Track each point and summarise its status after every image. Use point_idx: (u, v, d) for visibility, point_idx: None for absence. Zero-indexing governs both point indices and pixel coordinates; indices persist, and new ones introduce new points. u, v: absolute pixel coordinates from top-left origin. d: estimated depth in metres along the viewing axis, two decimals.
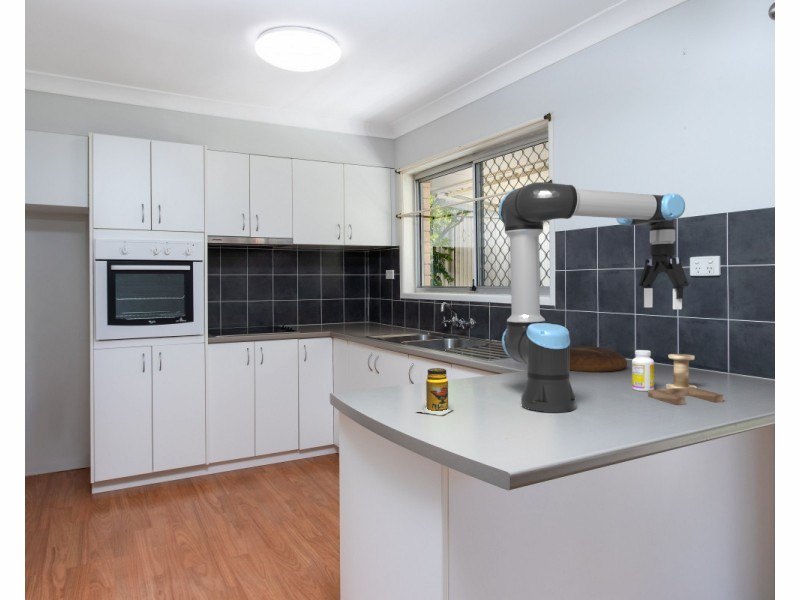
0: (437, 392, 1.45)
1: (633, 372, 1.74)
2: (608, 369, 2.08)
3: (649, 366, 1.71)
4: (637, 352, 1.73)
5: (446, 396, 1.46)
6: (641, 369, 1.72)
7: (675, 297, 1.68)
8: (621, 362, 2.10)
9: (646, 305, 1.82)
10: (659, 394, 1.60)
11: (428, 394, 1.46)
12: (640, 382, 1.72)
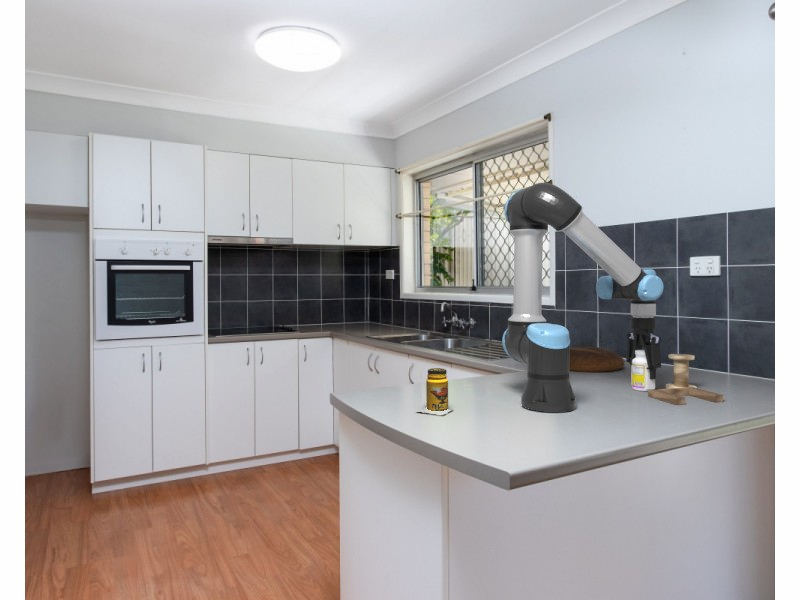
0: (437, 392, 1.45)
1: (633, 372, 1.74)
2: (606, 369, 2.08)
3: None
4: (637, 352, 1.73)
5: (446, 396, 1.46)
6: (641, 369, 1.72)
7: (648, 377, 1.70)
8: (619, 362, 2.10)
9: None
10: (659, 394, 1.60)
11: (428, 394, 1.46)
12: (640, 382, 1.72)
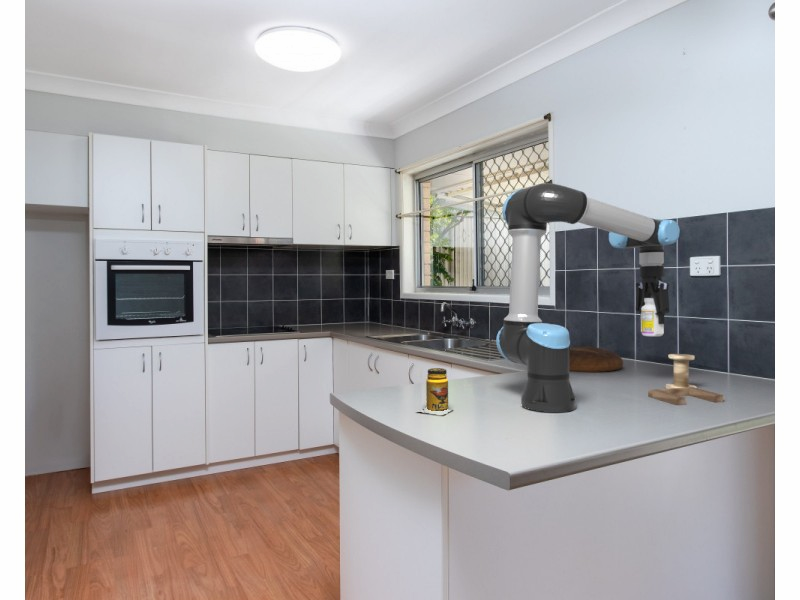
0: (437, 392, 1.45)
1: (642, 319, 1.81)
2: (605, 369, 2.07)
3: None
4: (646, 299, 1.81)
5: (446, 396, 1.46)
6: (650, 315, 1.79)
7: (657, 322, 1.78)
8: (618, 362, 2.10)
9: None
10: (659, 394, 1.60)
11: (428, 394, 1.46)
12: (650, 327, 1.79)
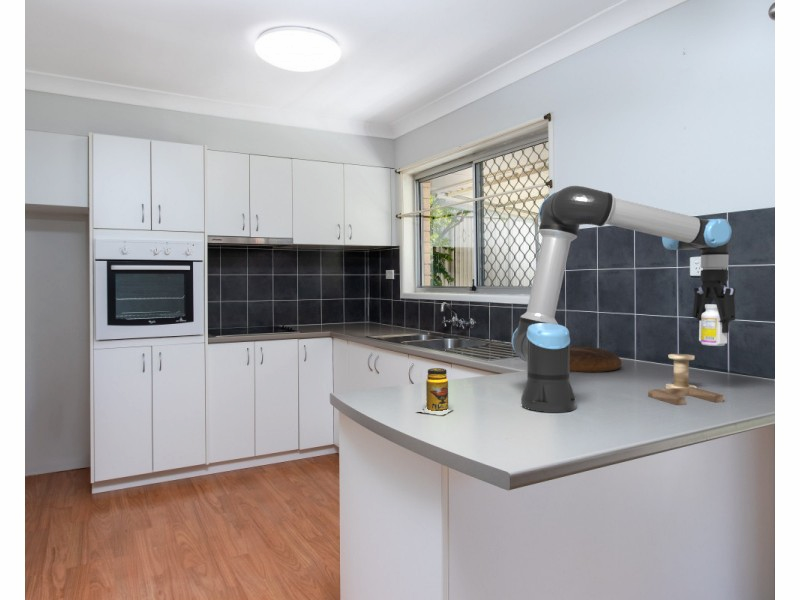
0: (437, 392, 1.45)
1: (703, 326, 1.67)
2: (603, 369, 2.07)
3: None
4: (708, 305, 1.67)
5: (446, 396, 1.46)
6: (712, 323, 1.65)
7: (721, 331, 1.64)
8: (616, 362, 2.10)
9: None
10: (659, 394, 1.60)
11: (428, 394, 1.46)
12: (712, 336, 1.65)
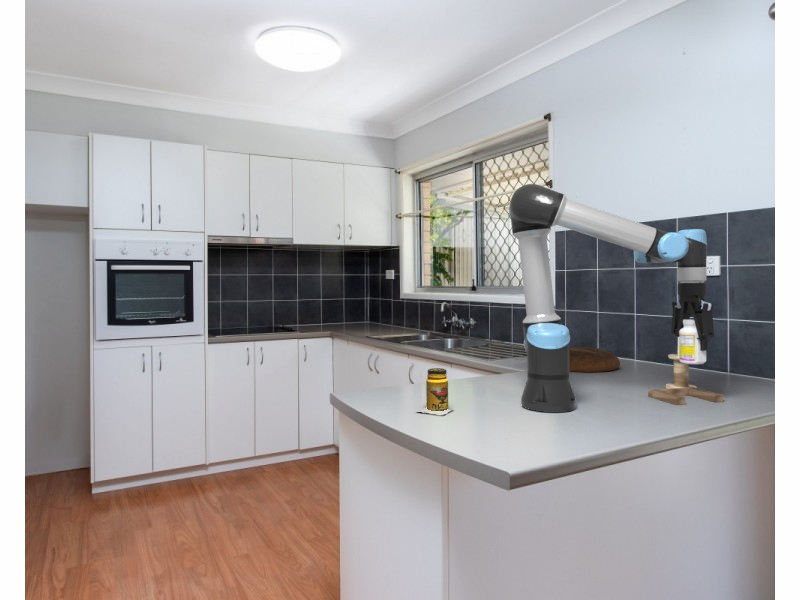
0: (437, 392, 1.45)
1: (681, 343, 1.57)
2: (602, 369, 2.07)
3: None
4: (686, 321, 1.56)
5: (446, 396, 1.46)
6: (690, 340, 1.55)
7: (699, 349, 1.53)
8: (615, 362, 2.10)
9: None
10: (659, 394, 1.60)
11: (428, 394, 1.46)
12: (690, 354, 1.55)
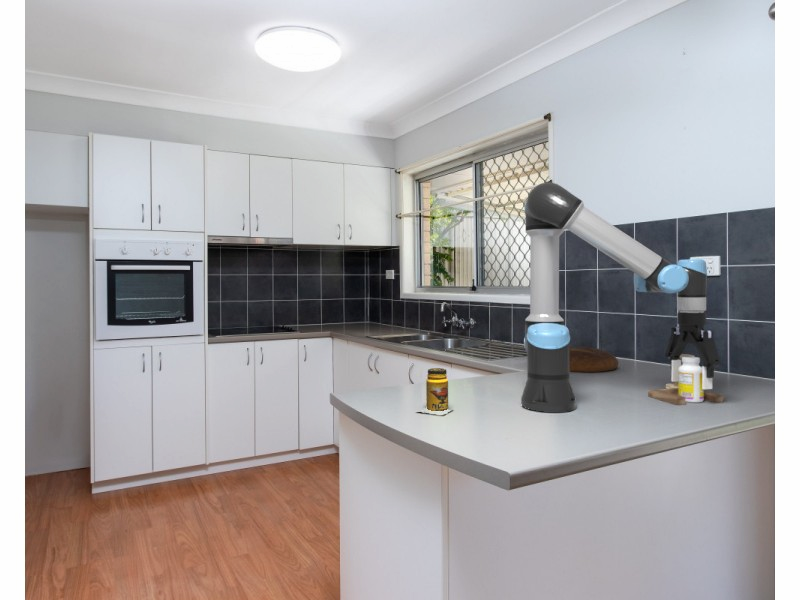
0: (437, 392, 1.45)
1: (680, 381, 1.58)
2: (601, 369, 2.07)
3: (699, 375, 1.55)
4: (685, 359, 1.57)
5: (446, 396, 1.46)
6: (689, 378, 1.55)
7: (705, 376, 1.51)
8: (613, 362, 2.10)
9: (674, 379, 1.63)
10: (659, 394, 1.60)
11: (428, 394, 1.46)
12: (689, 392, 1.55)
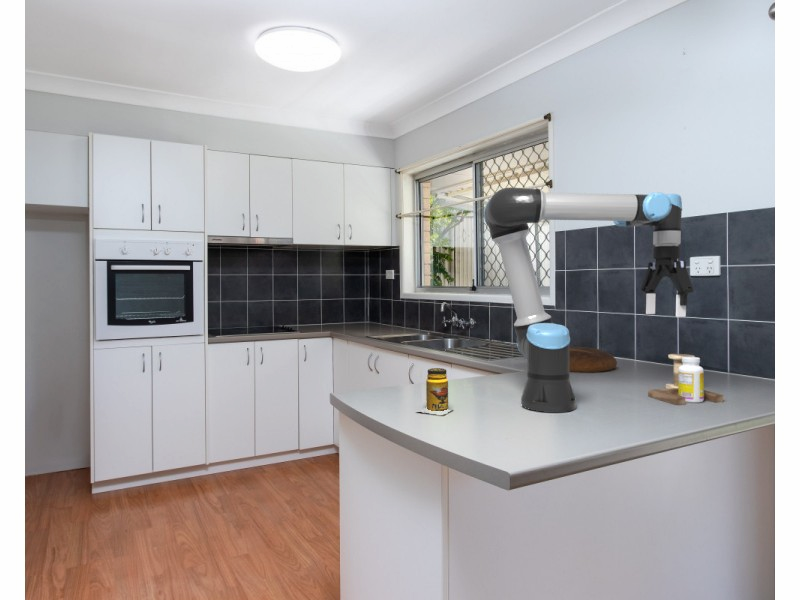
0: (437, 392, 1.45)
1: (680, 381, 1.58)
2: (599, 369, 2.07)
3: (699, 375, 1.55)
4: (685, 359, 1.57)
5: (446, 396, 1.46)
6: (689, 378, 1.55)
7: (678, 304, 1.56)
8: (612, 362, 2.10)
9: (648, 311, 1.69)
10: (659, 394, 1.60)
11: (428, 394, 1.46)
12: (689, 392, 1.55)
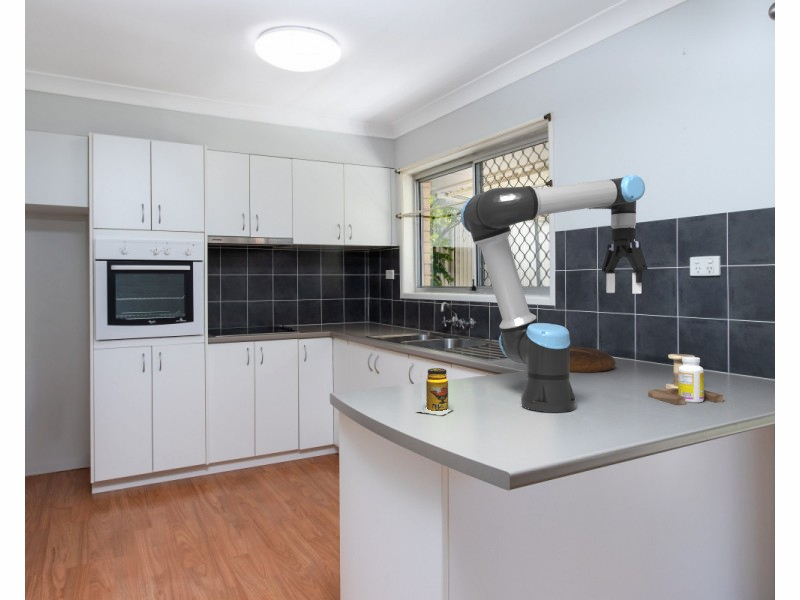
0: (437, 392, 1.45)
1: (680, 381, 1.58)
2: (598, 369, 2.07)
3: (699, 375, 1.55)
4: (685, 359, 1.57)
5: (446, 396, 1.46)
6: (689, 378, 1.55)
7: (634, 281, 1.67)
8: (611, 362, 2.10)
9: (608, 290, 1.80)
10: (659, 394, 1.60)
11: (428, 394, 1.46)
12: (689, 392, 1.55)
